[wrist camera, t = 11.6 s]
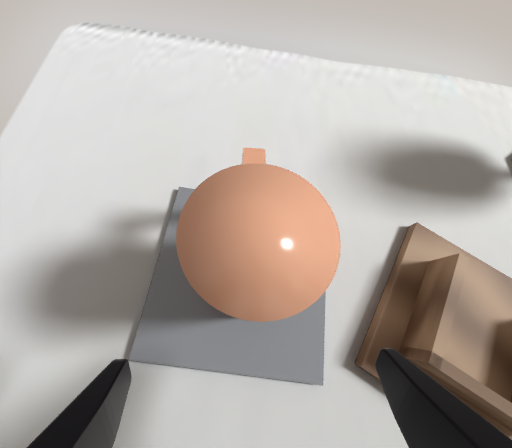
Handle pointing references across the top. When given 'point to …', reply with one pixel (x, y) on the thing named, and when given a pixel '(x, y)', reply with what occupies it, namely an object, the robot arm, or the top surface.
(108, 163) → the top surface
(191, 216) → the jug
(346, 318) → the top surface
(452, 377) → the jug holder
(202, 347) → the slate mat
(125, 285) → the top surface
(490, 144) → the top surface
